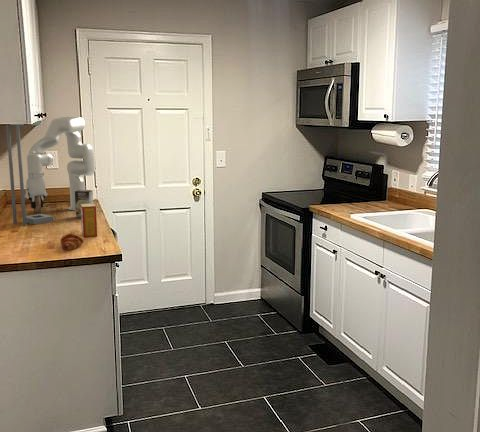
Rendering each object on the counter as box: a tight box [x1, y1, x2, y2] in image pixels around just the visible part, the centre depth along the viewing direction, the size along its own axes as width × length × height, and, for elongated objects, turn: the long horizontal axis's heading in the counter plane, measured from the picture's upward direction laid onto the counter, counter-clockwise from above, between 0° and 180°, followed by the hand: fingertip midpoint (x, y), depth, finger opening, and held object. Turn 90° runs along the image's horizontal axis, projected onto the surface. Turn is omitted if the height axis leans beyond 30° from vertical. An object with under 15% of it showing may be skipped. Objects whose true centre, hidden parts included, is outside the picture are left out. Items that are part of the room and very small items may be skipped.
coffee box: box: [75, 189, 94, 219], centre depth 317 cm, size 9×6×16 cm
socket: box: [26, 213, 54, 225], centre depth 303 cm, size 12×12×3 cm
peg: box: [33, 196, 42, 215], centre depth 302 cm, size 4×4×10 cm
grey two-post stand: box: [5, 120, 41, 227], centre depth 295 cm, size 14×12×57 cm
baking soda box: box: [80, 202, 98, 239], centre depth 268 cm, size 10×6×16 cm
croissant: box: [59, 232, 84, 251], centre depth 246 cm, size 21×10×8 cm, turn 7°
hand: (37, 207), depth 302 cm, fingers closed on peg, 4 cm apart
